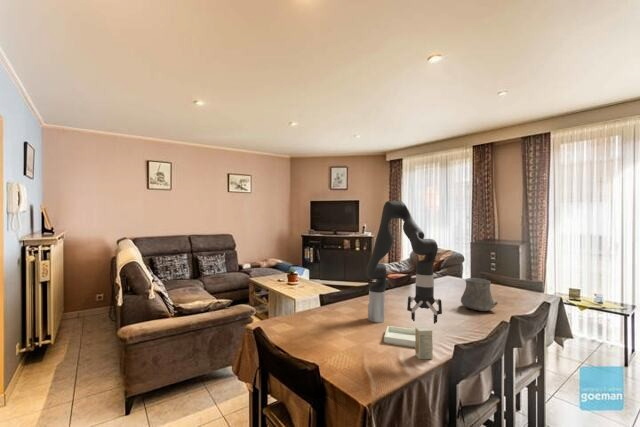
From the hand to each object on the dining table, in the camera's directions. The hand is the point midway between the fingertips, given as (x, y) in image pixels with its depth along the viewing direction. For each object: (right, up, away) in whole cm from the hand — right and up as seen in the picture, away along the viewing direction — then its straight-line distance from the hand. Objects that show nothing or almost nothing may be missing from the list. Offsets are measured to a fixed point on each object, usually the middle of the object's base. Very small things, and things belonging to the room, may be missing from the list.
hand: (424, 322), depth 133 cm
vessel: (+62, -18, +73) cm, 97 cm away
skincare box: (0, -15, 0) cm, 15 cm away
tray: (-2, -15, +18) cm, 24 cm away
